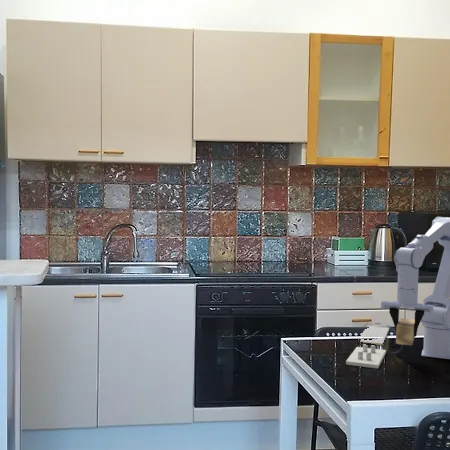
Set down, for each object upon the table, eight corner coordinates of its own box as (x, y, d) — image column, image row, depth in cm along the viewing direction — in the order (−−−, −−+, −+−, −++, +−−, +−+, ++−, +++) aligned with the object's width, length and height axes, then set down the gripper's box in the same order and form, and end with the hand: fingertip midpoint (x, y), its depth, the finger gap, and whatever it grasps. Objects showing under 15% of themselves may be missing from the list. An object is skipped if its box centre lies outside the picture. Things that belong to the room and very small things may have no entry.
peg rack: (385, 353, 178) (386, 343, 178) (378, 368, 159) (378, 357, 159) (356, 349, 181) (357, 340, 181) (345, 364, 163) (346, 354, 163)
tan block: (415, 336, 172) (415, 319, 172) (412, 345, 159) (412, 327, 159) (400, 334, 173) (400, 318, 173) (395, 343, 160) (396, 326, 160)
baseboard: (352, 344, 191) (382, 348, 188) (352, 336, 191) (382, 339, 188) (362, 328, 220) (389, 331, 216) (362, 321, 220) (389, 324, 216)
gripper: (380, 288, 165) (378, 334, 165) (433, 292, 159) (431, 340, 160) (383, 285, 171) (381, 330, 172) (434, 289, 166) (432, 335, 166)
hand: (406, 334), depth 166 cm, fingers closed on tan block, 4 cm apart
